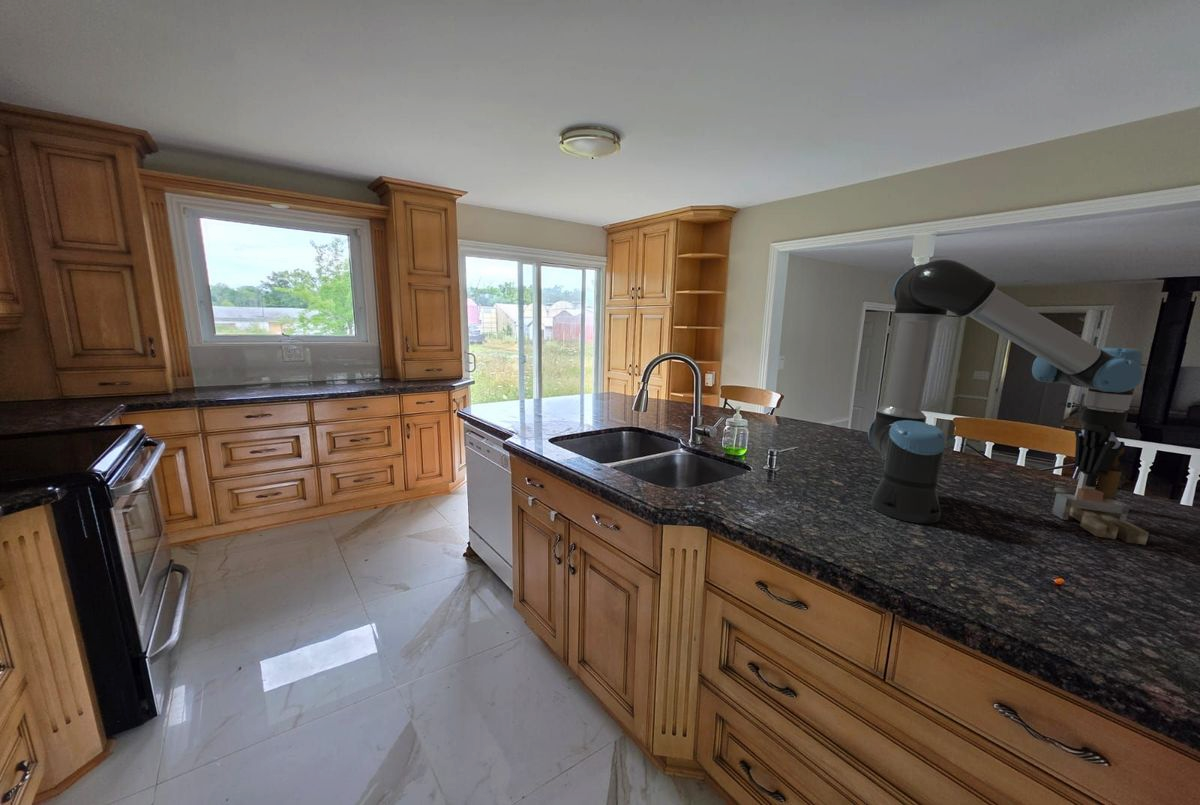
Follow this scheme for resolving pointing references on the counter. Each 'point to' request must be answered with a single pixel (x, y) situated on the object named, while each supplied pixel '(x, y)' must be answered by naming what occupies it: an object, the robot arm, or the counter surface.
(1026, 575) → the counter surface
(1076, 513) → the tongs hinged arm
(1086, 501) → the lock collar
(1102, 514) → the tongs fixed arm
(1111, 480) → the brown wooden post
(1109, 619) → the counter surface
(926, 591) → the counter surface
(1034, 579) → the counter surface
